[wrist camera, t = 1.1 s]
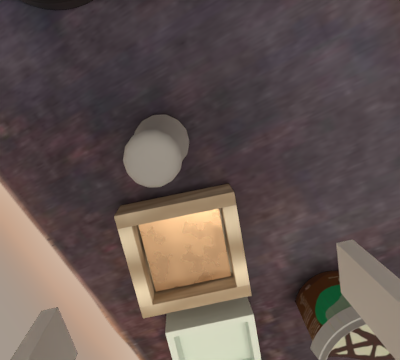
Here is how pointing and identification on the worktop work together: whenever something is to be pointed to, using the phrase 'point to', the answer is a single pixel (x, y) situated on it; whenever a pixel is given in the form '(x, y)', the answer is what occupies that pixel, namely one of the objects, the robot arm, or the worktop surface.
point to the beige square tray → (170, 208)
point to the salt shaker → (156, 151)
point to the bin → (214, 332)
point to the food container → (336, 322)
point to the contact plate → (186, 249)
